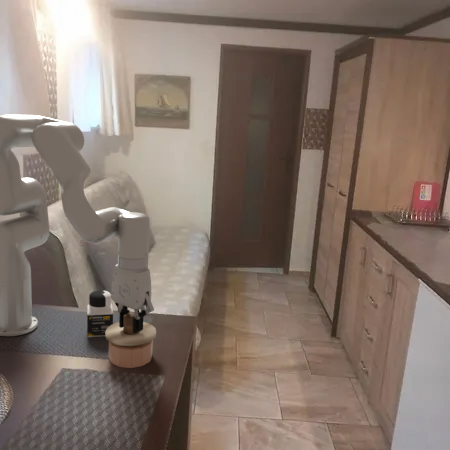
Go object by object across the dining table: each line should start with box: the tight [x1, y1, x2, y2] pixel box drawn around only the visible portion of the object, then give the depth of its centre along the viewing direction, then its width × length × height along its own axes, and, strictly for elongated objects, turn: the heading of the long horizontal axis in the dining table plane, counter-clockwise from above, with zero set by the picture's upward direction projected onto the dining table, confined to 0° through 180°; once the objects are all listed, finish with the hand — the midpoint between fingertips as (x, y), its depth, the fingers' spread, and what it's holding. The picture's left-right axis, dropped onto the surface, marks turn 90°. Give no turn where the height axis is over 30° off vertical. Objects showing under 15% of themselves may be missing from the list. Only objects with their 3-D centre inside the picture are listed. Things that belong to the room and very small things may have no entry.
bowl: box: [108, 339, 154, 369], centre depth 126 cm, size 11×11×5 cm
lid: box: [104, 311, 157, 346], centre depth 125 cm, size 13×13×5 cm
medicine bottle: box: [86, 289, 114, 338], centre depth 138 cm, size 7×7×12 cm
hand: (131, 328), depth 125 cm, fingers closed on lid, 4 cm apart
